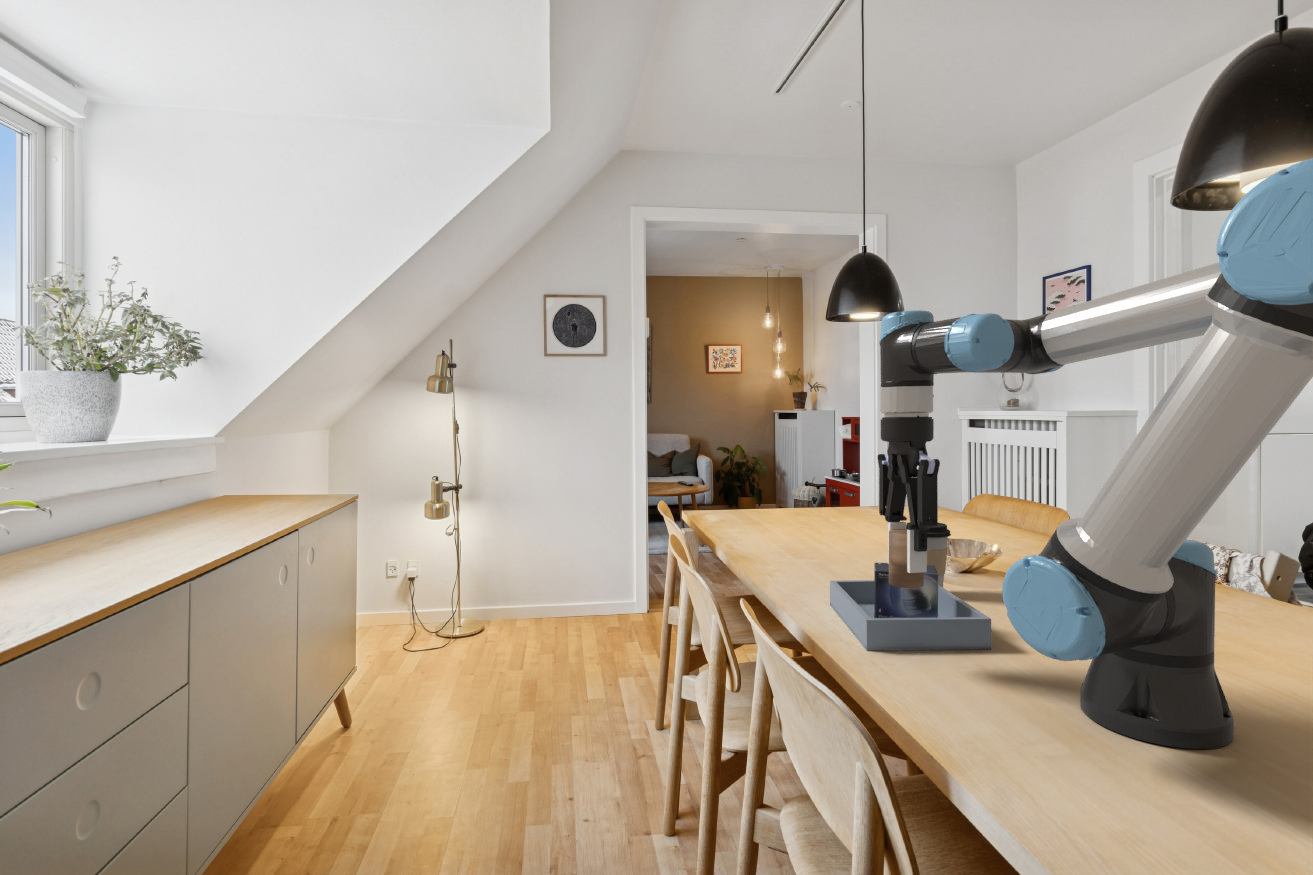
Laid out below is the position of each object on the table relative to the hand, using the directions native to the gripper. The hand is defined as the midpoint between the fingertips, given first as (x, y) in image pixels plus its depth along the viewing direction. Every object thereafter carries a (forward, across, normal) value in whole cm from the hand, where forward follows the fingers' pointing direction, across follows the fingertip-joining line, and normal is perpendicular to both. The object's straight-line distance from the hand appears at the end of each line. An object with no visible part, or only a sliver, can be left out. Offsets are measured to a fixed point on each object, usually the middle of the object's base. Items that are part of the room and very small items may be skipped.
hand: (906, 567), depth 101 cm
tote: (+15, +18, -9) cm, 25 cm away
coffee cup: (+16, +35, -25) cm, 46 cm away
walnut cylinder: (+3, 0, 0) cm, 3 cm away
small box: (+15, +16, -9) cm, 23 cm away
